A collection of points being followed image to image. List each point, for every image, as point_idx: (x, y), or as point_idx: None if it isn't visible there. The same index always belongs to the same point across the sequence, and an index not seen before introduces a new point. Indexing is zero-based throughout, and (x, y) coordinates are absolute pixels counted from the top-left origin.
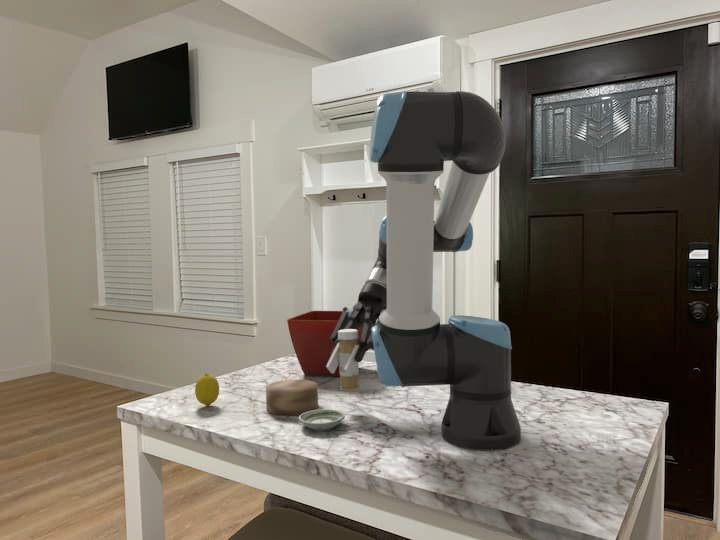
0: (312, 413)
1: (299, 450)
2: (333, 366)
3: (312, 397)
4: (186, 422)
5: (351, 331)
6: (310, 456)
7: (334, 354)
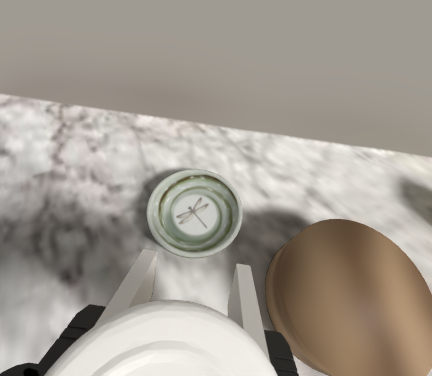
0: (231, 230)
1: (177, 128)
2: (232, 302)
3: (275, 286)
4: (400, 157)
5: (62, 374)
6: (153, 119)
7: (243, 312)
